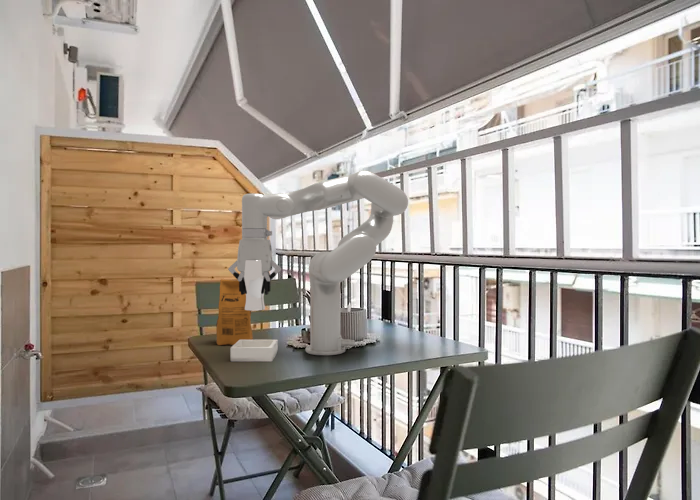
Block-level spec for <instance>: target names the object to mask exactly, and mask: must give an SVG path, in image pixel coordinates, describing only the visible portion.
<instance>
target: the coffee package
mask: <svg viewBox="0 0 700 500" xmlns="http://www.w3.org/2000/svg"><path fill="white" fill-rule="evenodd" d="M245 303H246V293H245V294H243V295H241V292H239V281H238V280H237V279H236V280H233V279H232V280H231V279H222V278H221V279H220V282H219V300H218V315H217V319H216V325H215V329H216V344H217V346H222V345H223V346H225V345H230V346H231V345H232V346H233V345H234V344H235V343H236V342H237V341H239V340H254V334H253V329H252V323H251V321H252V318H251V316H252V311H249V310H245Z"/></svg>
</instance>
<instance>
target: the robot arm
mask: <svg viewBox="0 0 700 500" xmlns="http://www.w3.org/2000/svg"><path fill="white" fill-rule="evenodd" d="M362 199H365V200H367V201H368V202H371V204H370V205H371V206H370V209H371V210H370V215H369V217H368V219H367V220H365V222H362V224H360V225H359V226H358V227H356V228H355V229H353V230H351V231H350V232H349V233H347V234H346V235H344V236H343V237H342V238H341V239H340V240H339V241H338V244H337V246H336V247H335V248H333V249H332V250H331V251H320V252H317V253H316V254H314V255H313V256H312V258H311V259H310V261H309V265H308V276H309V279H308V280H309V289H310V290H309V291H310V306H309V307H310V310H309V311H310V313H309V314H310V320H309V321H310V324H309V325H310V326H309V327H310V336H309V337H310V345H307V346H306V347H305V353H306V354H308V355H309V354H310V355H313V356H314V355H315V356H335V355H341V354H343V353H345V352H346V347H355V345H356V344H355V339H351V338H350V339H349V338H348V339H345V338H343V337H342V334H341V302H342V301H341V299H342V298H341V285H340V283H342V282H343V281H345V280H347V279H348V278H350V277H351V276H353V274H355V273H357V272H358V271H359V270H360V269H361V268H363V267H364V266H366V265H367V264H368V263H370V261H372V259H373V258H374V257H375V255H376V251H377V246H378V245H379V244H381V243H382V242H383V241H384V240H385V239H386V238H387V237H388V236H389V235H390V233H391V231H392V228H393V225H394V217H395V216H400V215H402V214H403V213H404V212H405V211H406V210H407V209H408V206H409V199H408V195H407V194H406V193H405V191H403V189H401V188H399V187H398V186H397V185H395V184H393V183H391V182H389V181H388V180H386V179H385V178H384V177H381V176H379V175H378V174H377V173H373V172H372V171H370V170H364V169H363V170H359V171H357V172H354V173H351V174H347V175H343V176H339V177H336V178H332V179H327V180H322V181H319V182H316V183H314V184H313V183H312V184H311V185H310V184H309V185H308V186H306V187H304V188H300V189H298V190H294V191H290V192H286V193H281V192H279V193H271V194H263V193H245V194H243V196H242V197H241V239H239V243H238V247H237V248H238V249H237V256H236V257H237V259H236V260H235V262H233V263H232V265H230V266H229V267H228V271H229V272H230V273H231V274H232V275H233V277H234V278H235V279H236V281H237V280H238V281H239V292H241V295H243V294H245V287H244V281H243V272H244V267H245V260H261V264H262V268H263V272H265V278H266V281H265V290H264V296H265V295H266V296H267V295H269V293H270V292H271V281H272V280H273V279H274V278H275V277H276V276H277V275H278V273H280V272H281V270H282V268H281V266H280V265H279V264H277V263H276V262H275V260H273V251H272V243H271V239H268V238H269V237H270V236H273V231H272V230H269V229H268V217H269V218H271V219H273V220H281V219H282V220H283V219H285V218H289V217H292V216H296V215H299V214H304V213H307V212H313V211H321V210H324V209H329V208H332V207H336V206H339V205H343V204H347V203H351V202H355V201H359V200H362ZM273 268H274V270H273ZM236 269H237V271H236ZM272 270H273V271H272ZM271 271H272V273H270V272H271ZM239 272H240V273H239Z"/></svg>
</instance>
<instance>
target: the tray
mask: <svg viewBox="0 0 700 500" xmlns="http://www.w3.org/2000/svg"><path fill="white" fill-rule="evenodd" d="M278 341H279V340H278V339H252V340H239V341H237V342H236V343H235V344H234V345H232V346H231V347H230V362H273V360H274V359H275V358H276V356H277V354H278V352H279V351H278V348H279V347H278V346H279V344H278V343H279V342H278Z"/></svg>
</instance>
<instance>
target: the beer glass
mask: <svg viewBox="0 0 700 500" xmlns="http://www.w3.org/2000/svg"><path fill="white" fill-rule="evenodd" d="M243 281H244V287H245V293H246V303H245V310H249V311H251V312H252V311H257V312H259V311H263V310H266V306H265V299H264V296H265V281H266V278H265V272H263V268H262V264H261V260H245V267H244V272H243Z"/></svg>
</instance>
